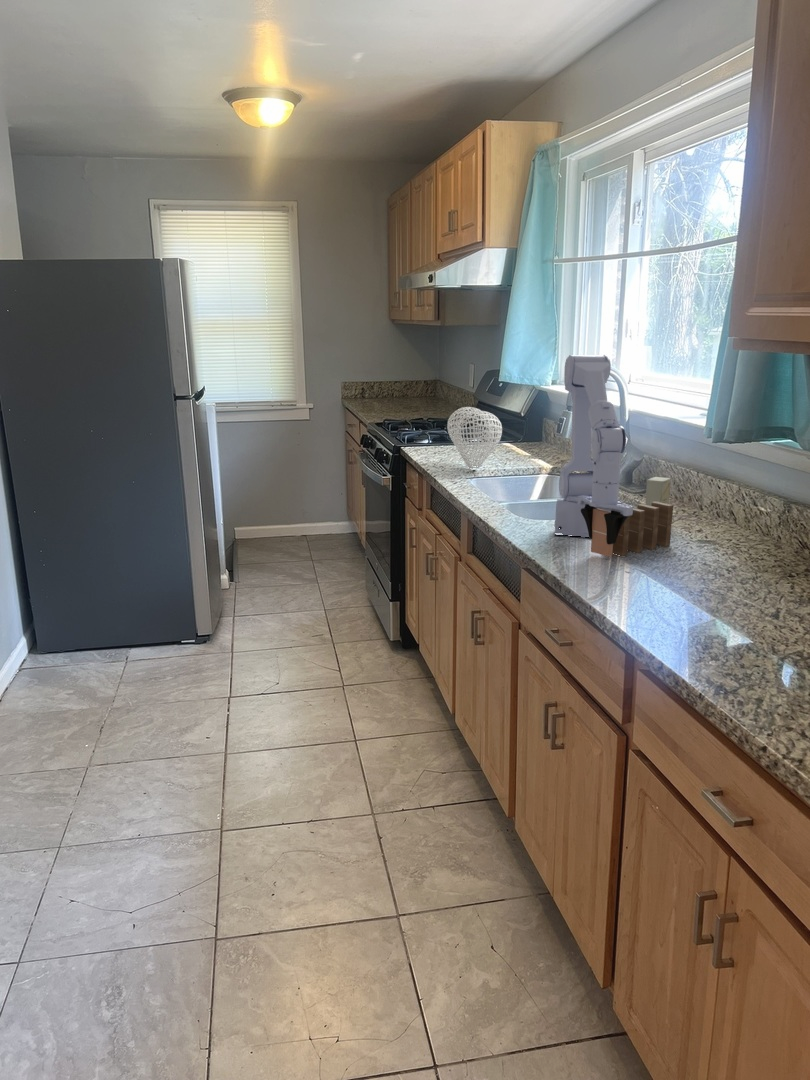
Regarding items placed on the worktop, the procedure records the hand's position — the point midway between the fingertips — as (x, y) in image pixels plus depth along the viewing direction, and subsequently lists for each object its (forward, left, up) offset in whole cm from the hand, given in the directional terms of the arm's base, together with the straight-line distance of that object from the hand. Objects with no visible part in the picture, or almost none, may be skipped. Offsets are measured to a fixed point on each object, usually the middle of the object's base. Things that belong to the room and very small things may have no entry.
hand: (602, 540), depth 180 cm
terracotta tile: (0, 0, -3) cm, 3 cm away
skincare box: (+12, +36, -4) cm, 38 cm away
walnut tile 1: (+13, +15, -4) cm, 20 cm away
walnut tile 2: (+10, +11, -4) cm, 15 cm away
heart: (-50, +100, -4) cm, 112 cm away
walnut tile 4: (+3, +4, -4) cm, 6 cm away
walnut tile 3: (+6, +8, -4) cm, 11 cm away
